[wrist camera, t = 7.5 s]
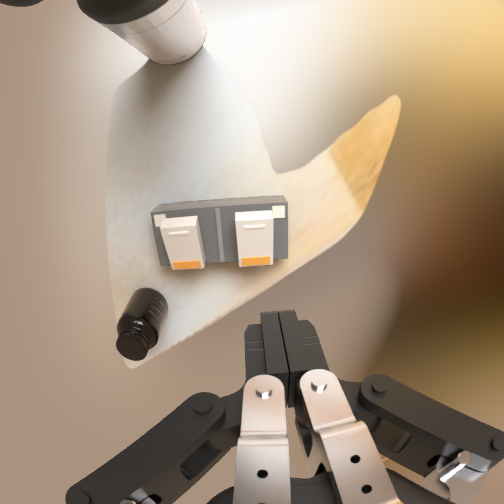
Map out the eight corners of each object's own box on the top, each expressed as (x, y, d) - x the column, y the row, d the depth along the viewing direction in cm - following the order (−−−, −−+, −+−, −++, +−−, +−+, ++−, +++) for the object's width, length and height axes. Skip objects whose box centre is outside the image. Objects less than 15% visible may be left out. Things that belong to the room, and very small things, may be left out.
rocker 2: (235, 212, 33) (235, 221, 32) (271, 210, 33) (273, 219, 32) (239, 257, 38) (239, 267, 36) (271, 255, 38) (273, 265, 36)
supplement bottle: (145, 322, 47) (126, 369, 36) (125, 293, 45) (99, 337, 34) (176, 312, 46) (161, 361, 36) (155, 280, 44) (134, 326, 33)
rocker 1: (163, 218, 33) (159, 229, 31) (197, 215, 33) (195, 226, 31) (174, 259, 38) (172, 270, 36) (205, 257, 38) (204, 269, 36)
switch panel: (158, 204, 39) (150, 213, 35) (282, 195, 39) (287, 202, 35) (167, 254, 42) (160, 267, 38) (283, 246, 42) (288, 259, 38)
